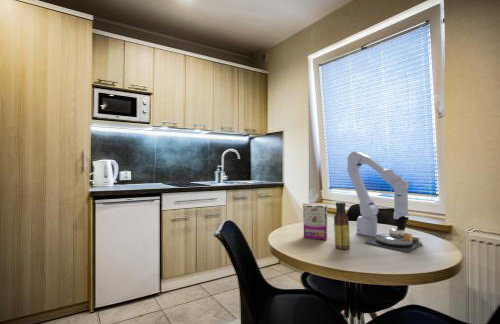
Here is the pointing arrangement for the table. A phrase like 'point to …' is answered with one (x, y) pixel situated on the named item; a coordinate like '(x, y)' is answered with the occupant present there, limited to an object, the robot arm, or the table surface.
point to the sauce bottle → (341, 227)
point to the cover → (396, 232)
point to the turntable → (395, 240)
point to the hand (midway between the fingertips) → (401, 232)
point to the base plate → (407, 249)
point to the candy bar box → (315, 221)
